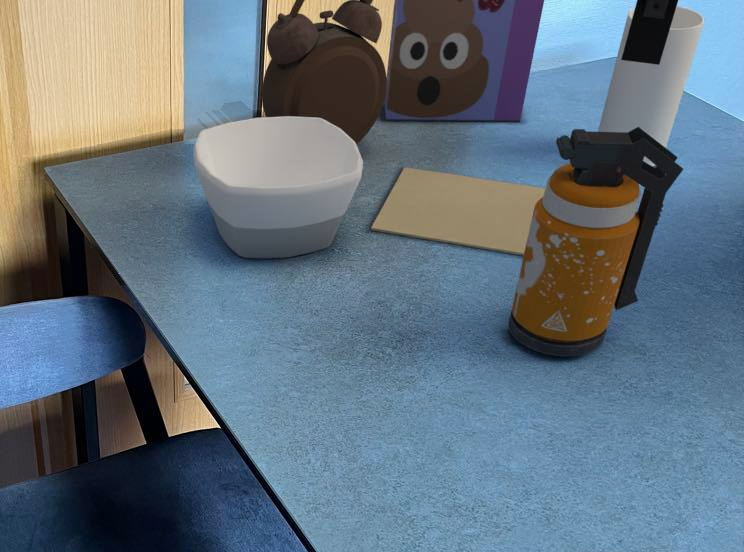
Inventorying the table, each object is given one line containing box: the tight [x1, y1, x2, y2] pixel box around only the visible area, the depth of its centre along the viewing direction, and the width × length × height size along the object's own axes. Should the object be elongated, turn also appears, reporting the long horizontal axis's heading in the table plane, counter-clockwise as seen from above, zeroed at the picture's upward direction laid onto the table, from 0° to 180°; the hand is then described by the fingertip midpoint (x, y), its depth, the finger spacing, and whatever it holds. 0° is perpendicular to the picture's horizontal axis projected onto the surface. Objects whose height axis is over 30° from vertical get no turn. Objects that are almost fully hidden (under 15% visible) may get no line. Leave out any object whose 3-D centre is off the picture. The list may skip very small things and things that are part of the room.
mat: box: [370, 166, 546, 257], centre depth 118 cm, size 20×16×1 cm
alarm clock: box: [261, 0, 387, 145], centre depth 121 cm, size 14×7×20 cm, turn 115°
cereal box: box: [383, 0, 545, 123], centre depth 128 cm, size 17×5×24 cm, turn 87°
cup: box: [597, 5, 705, 167], centre depth 122 cm, size 8×8×16 cm
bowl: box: [192, 116, 364, 259], centre depth 112 cm, size 18×18×9 cm
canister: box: [507, 127, 684, 357], centre depth 93 cm, size 9×11×20 cm
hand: (648, 30), depth 81 cm, fingers open, 13 cm apart
